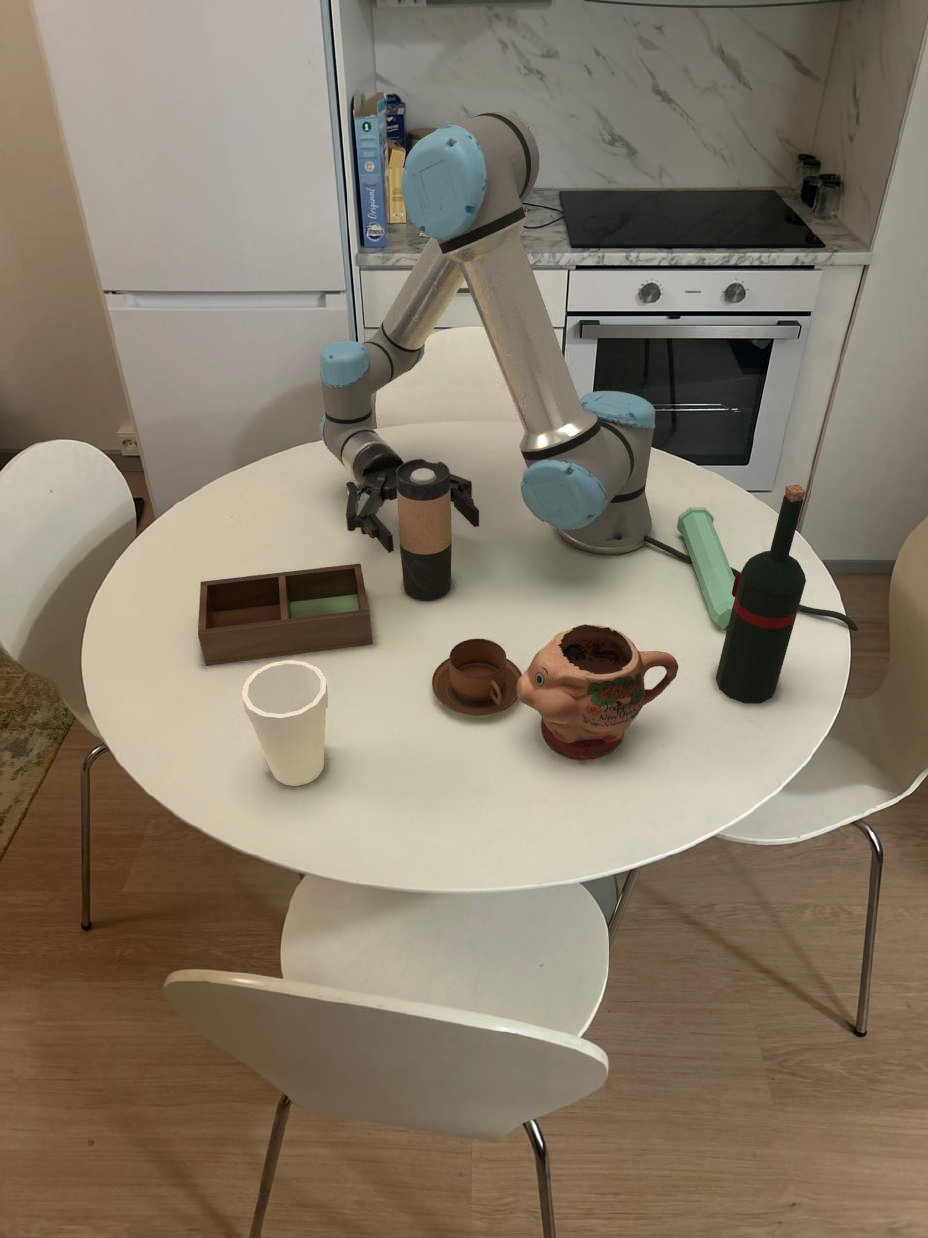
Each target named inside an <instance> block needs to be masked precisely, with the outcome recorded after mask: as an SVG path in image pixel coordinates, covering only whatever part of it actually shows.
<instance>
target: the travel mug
mask: <svg viewBox="0 0 928 1238" xmlns="http://www.w3.org/2000/svg"><path fill="white" fill-rule="evenodd" d="M450 474H451V471H450V468H449V467H448V465H447V464H446V463H444V462H442V461H438V462H429V461H426V460H425V459H424V458H415V459H411V460H408V461H405V462H404V463H403V464H402V465H400V466H399V467H398V469H397V472H396V483H397V500H396V501H397V503H396V504H397V520H398V521H397V522H398V537H399V538H398V540H399V541H398V542H399V552H400V561H401V562H400V563H401V572H402V582H403V583H402V584H403V588H404V592H405V593H406V594H407V596H408V597H411V598H412V599H414V600H417V601H421V602H431V601H436V600H439V599H442V598H444V597H445V596H446V595H448V593H449V592H450V589H451V588H452V587H451V586H452V552H453V551H452V548H453V547H452V546H453V543H452V541H453V536H452V535H453V534H452V505H451V503H452V502H451V497H450Z"/></svg>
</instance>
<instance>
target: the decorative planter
mask: <svg viewBox="0 0 928 1238" xmlns="http://www.w3.org/2000/svg"><path fill="white" fill-rule="evenodd" d="M655 667H656V668H657V667H662V668H664V669H665V671H666V673H665V675H664V677H662V679H661V680H660V681H659V682H658V683H657V684H656V685H654V687H652V688H651V689H648V688H645V687H646V686H645V676H646V673H647V672H648V671H649V670H650V669H652V668H655ZM678 671H679V664H678V661H677V659H676V657H675V656H674V655H673V654H670V653H669V652H666V651H662V650H661V651H660V650H646V651H641V650H639V649H638V648H637V647H636V644H634V642H633V641H632V640H631V639H630V638H629V637H628V636H627V635H626V634H625V633H623V632H621V631H619V630H617V629H615V628H613V627H609V626H605V625H598V624H586V623H585V624H581V625H578V626H574V627H572V628H570V629H566V630H565V631H561V632H559V633H557V634H556V635H554V637H553V638H552V639H551V640H550V641H549V642H548V643H547V644H546V645H545V646H544V647H542V648H541V649H540V650H539V651H537V652H536V653H535V655H534V657H533V658H532V660H531V662H530V664H529V666H528V667H527V669H526V670H525V672H523V673H522V676H521V677H520V678H519V680H518V682H517V695H518V700H519V701H520V702H521V703H523V704H524V705H526V706H528V707H530V708H532V709H534V710H535V711H537V713H539V715H540V717H541V720H540V731H541V735H542V738H543V740H544V742H545V744H546V745H547V746H548V748H550V749H551V750H552V751H553V752H554V753H556V754H557V755H560V756H562V757H564V758H566V759H569V760H573V761H590V760H591V761H593V760H596V759H600V758H604V757H606V756H609V755H611V754H613V753H614V751H615V750H617V748H619V746H620V745H621V744H622V741H623V738H624V736H625V732H626V730H627V729H628V727H630V725H631V724H632V722H634V720H635V719H636V718H637V716H638V715H639V713H640V712H641V711H642V709H643V707H644V706H645V705H647V704H649V703H651V702H652V701H653V700H655V699H656V698H657V697H658V696H660V695H661V694H663V692H664V691H665V689H667V687H668V686H670V685H671V683H672V682H673V681H674V680H675V679H676V678H677V674H678Z"/></svg>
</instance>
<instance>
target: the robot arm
mask: <svg viewBox="0 0 928 1238" xmlns="http://www.w3.org/2000/svg"><path fill="white" fill-rule="evenodd" d="M539 152H540V151H539V147H538V143H537V141H536V138H535V136H534V135H533V133H532V131H531V130H530V129H529V127H528V126H527V124H526V123H525V122H523V121H522V119H519V118H518V117H517V116H514V115H512V114H510V113H507V112H503V111H487V112H484V113H481V114H477V115H476V116H473V117H470V118H467V119H464V120H461V121H457V122H454V123H452V124H447V125H445V126H443V127H440V128H437V129H436V130H434V131H432V132H431V133H429V134H428V135H425V136H424V137H422V138H421V139H419V140H418V142H416V143H415V144H414V146H413V147H412V148H411V149H410V151H409V152H408V155H407V156H406V159H405V162H404V167H403V168H402V172H401V181H400V191H401V197H402V203H403V205H404V209H405V211H406V215H407V216H408V217H409V219H410V221H411V222H412V224H413V226H415V227H416V229H418V230H419V231H420V232H421V231H422V232H423V233H424V234H425V235H426V236H427V237H428V238H429V239H428V241H427V243H426V245H425V246H424V248H423V250H422V252H421V253H420V255H419V257H418V259H417V261H416V262H415V263H414V266H413V267H412V268H411V271H410V273H409V275H408V276H407V278H406V280H405V282H404V283H403V285H402V286H401V288H400V290H399V292H398V294H397V295H396V297H395V299H394V301H393V302H392V304H391V305H390V307H389V310H388V311H387V313H386V314H385V317H384V319H383V321H382V322H381V324H380V326H379V327H378V329H377V330H376V332H375V333H374V335H373V336H372V337H371V338H368V339H367V340H366V341H364V342H362V343H361V342H359V341H356V340H351V339H350V340H349V339H348V340H347V339H343V340H338V341H336V342H330V343H328V344H325V346H323V347H322V349H321V350H320V353H319V364H320V365H319V366H320V367H319V368H320V369H319V379H320V382H321V388H322V389H321V390H322V397H323V407H324V412H325V413H324V415H322V418H321V420H320V424H319V427H318V429H319V436H320V438H321V440H322V441H323V443H324V445H325V446H326V447H327V450H328V451H329V452H330V453H331V454H332V455H333V456H334V457H335V458H336V459H337V460H338V461H339V463H341V465H342V466H343V467H344V468H345V470H347V471H348V472H349V474H350V475H351V476H352V477H353V479H355V481H356V483H358V484H355V482H354V481H348V482H346V495H347V505H346V513H345V518H346V519H345V520H346V529H347V531H349V532H354V531H356V529H360V534H361V535H364V536H366V535H367V536H368V537H369V538H370V539H372V540H373V539H377V541H378V542H379V543H380V544H381V545H382V546H383V548H384V549H385V550H386V551H387V553H389V554H390V553H393V552H394V551H395V549H394V536H393V534H392V533H391V531H390V530H389V529H388V528H387V527H386V525H384V523H383V522H382V521H381V520H380V518H379V517H378V516H377V514H378V513H379V511H380V509H381V508H383V507H384V505H385V502H386V501H389V502H391V501H394V500H396V499H397V483H396V472H397V469H398V467H399V466H400V465H402V464H403V463H405V462H404V460H403V459H402V458H401V456H399V454H398V453H396V452H395V450H394V449H393V448H392V447H391V446H390V445H389V444H388V443H387V442H386V441H385V440H384V439H383V438H382V437H381V436H380V435H379V434H378V433H377V432H376V431H375V430H374V424H373V408H372V395H373V394H375V393H377V392H378V391H379V390H381V389H383V388H384V387H385V386H387V385H388V384H390V383H391V382H393V381H395V380H396V379H398V378H399V377H400V376H402V375H404V374H406V373H408V372H410V371H412V370H413V368H414V367H415V366H416V365H417V364H418V363H420V361H422V359H423V357H424V355H425V348H426V347H425V346H426V341H427V339H428V338H429V337H430V335H431V333H432V332H433V330H434V329H435V327H436V326H437V324H438V323H439V321H440V319H441V318H442V316H443V315H444V313H445V312H446V311H447V308H448V307H449V305H450V303H451V302H452V301H453V299H454V298H455V296H456V294H457V293H458V292H459V290H460V288H461V287H462V285H463V283H464V282H465V284H466V285H467V289H468V291H469V293H470V296H471V298H472V301H473V303H474V305H475V309H476V311H477V314H478V316H479V319H480V321H481V324H482V326H483V328H484V331H485V334H486V336H487V339H488V341H489V344H490V346H491V349H492V352H493V355H494V357H495V359H496V362H497V365H498V368H499V370H500V372H501V375H502V377H503V380H504V382H505V385H506V387H507V390H508V392H509V395H510V397H511V400H512V402H513V406H514V408H515V410H516V412H517V414H518V417H519V420H520V423H521V425H522V428H523V435H522V438H521V439H520V442H519V444H518V446H519V450H520V452H521V456H522V457H523V460H524V463H525V465H526V467H527V468H526V469H525V471H524V472H523V475H522V480H521V482H520V495H521V497H522V500H523V501H524V504H525V506H526V508H527V509H528V510H529V512H531V514H533V516H534V517H535V518H537V519H538V520H539V521H540V522H542V523H547V524H548V526H550V527H553V528H555V529H557V532H558V533H559V535H560V536H561V539H563V541H565V542H566V543H567V544H569V545H570V546H572V547H574V548H576V549H579V550H581V551H584V552H587V553H592V554H598V555H620V554H621V555H622V554H626V553H630V552H633V551H635V550H638V549H640V548H641V547H643V546H644V545H645V544H646V543H648V544H649V545H652V546H654V547H656V548H659V549H660V550H662V551H664V552H667V553H668V554H670V555H672V556H674V557H676V558H678V559H680V560H682V561H684V562H686V563H689V564H692V565H693V563H692V561H691V558H690V555H687V554H685V553H683V552H681V551H679V550H677V549H676V548H674V547H672V546H670V545H668V544H666V543H664V542H662V541H659V540H657V539H655V538H653V537H651V533H652V526H653V525H652V515H651V511H650V507H649V501H648V498H647V494H646V487H647V480H648V473H649V465H650V458H651V452H652V451H651V450H652V446H653V445H652V444H653V437H654V432H655V431H654V430H655V429H656V424H655V421H656V410H655V407H654V406H653V405H652V403H651V402H649V401H648V400H647V399H645V398H643V397H641V396H639V395H636V394H633V393H628V392H624V391H618V390H617V391H615V390H598V391H593V392H592V391H591V392H589V393H588V392H587V393H586V394H585V395H583V396H582V397H580V398H579V395H578V392H577V389H576V388H575V384H574V381H573V379H572V376H571V373H570V371H569V367H568V365H567V362H566V359H565V356H564V354H563V350H562V348H561V346H560V343H559V340H558V337H557V334H556V332H555V329H554V326H553V324H552V321H551V318H550V315H549V312H548V309H547V306H546V304H545V301H544V299H543V296H542V293H541V291H540V287H539V284H538V281H537V279H536V277H535V274H534V271H533V268H532V265H531V263H530V259H529V257H528V255H527V252H526V249H525V245H524V243H523V241H522V232H523V230H524V227H525V224H526V222H527V216H526V214H525V210H524V208H523V204H524V202H525V201H526V200H527V198H528V196H530V193H531V192H532V190H533V188H534V187H535V184H536V182H537V179H538V176H539V171H540V153H539ZM363 494H365V495H367V496H368V497H367V499H366V501H365V503H364V505H363V506H362V508H361V510H360V512H359V506H360V503H359V501H361V498H362V497H363ZM450 497H451V503H453V508H455V509H456V510H457V511H458V513H460V515H462V516H463V517H464V518H465V519H466V520H467V522H469V524H470V525H472V527H474V528H477V527H480V509H478V507H477V506H476V505H475V501H474V498H473V482H472V480H470V479H468V478H467V479H466V478H464V477H461V476H458V475H455V474H452V473H450ZM730 567H731V566H730ZM731 570H732V572H733V575H734V577H736V576H737V574H738V573H741V571H739V570H737V569H735V568H734V567H731ZM798 612H802V613H804V614H808V615H812V616H820V617H826V618H833V619H836V620H839V621H841V622H843V623H844V624H845V625H846V626H848V628H849V629H850V630H852V631H854V632H858V631H859V628H858V626H857V624H856V623H855V622H854V621H853V620H852V619H851V618H850V617H849V616H847V614H844V613H841V612H839V611H836V610H830V609H821V608H816V607H811V606H806V605H803V604H800V605H799V608H798Z"/></svg>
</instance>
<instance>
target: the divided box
mask: <svg viewBox="0 0 928 1238" xmlns="http://www.w3.org/2000/svg"><path fill="white" fill-rule="evenodd" d="M365 584H366V583H365V579H364V574H363V568H362V564H361V563H352V564H351V563H350V564H343V565H333V566H324V567H316V568H308V569H299V570H289V571H284V572H283V571H281V572H272V573H264V574H263V573H262V574H255V575H247V576H238V577H229V578H219V579H211V580H204V581H200V586H199V605H198V609H199V610H198V623H197V624H198V626H197V627H198V628H197V637H198V640H199V644H200V648H201V652H202V657H203V661H204V665H205V666H212V665H218V664H219V665H220V664H226V663H234V662H242V661H243V662H244V661H249V660H258V659H265V658H275V657H282V656H290V655H297V654H305V653H312V652H320V651H328V650H336V649H337V650H338V649H344V648H352V647H360V646H366V645H373V634H372V623H371V612H370V607H369V606H370V605H369V602H368V595H367V590H366V585H365Z"/></svg>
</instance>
